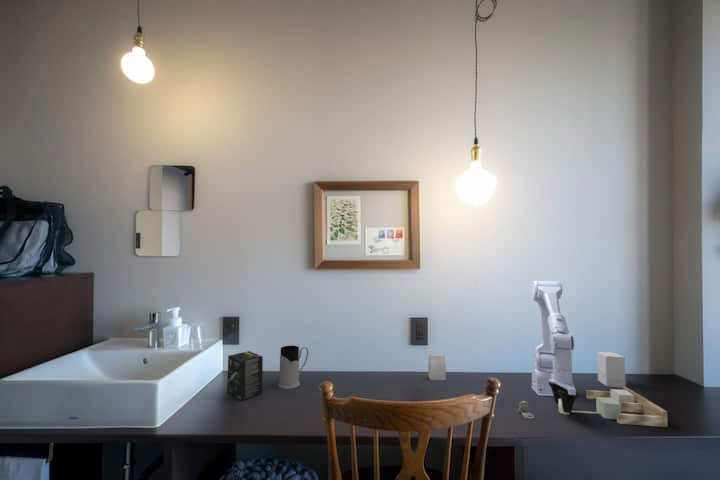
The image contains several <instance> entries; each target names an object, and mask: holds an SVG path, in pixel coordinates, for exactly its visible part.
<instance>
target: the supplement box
mask: <svg viewBox="0 0 720 480" xmlns="http://www.w3.org/2000/svg"><path fill="white" fill-rule="evenodd" d="M596 355H597V360H596V361H597V362H596V363H597V381H598V382H599V383H601V384H603V386H605V387H608V388H621V389H623V387H627V384H626V364H625V363H626V361H625V356H624V355H620V354H619V353H617V352H612V351H596Z"/></svg>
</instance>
